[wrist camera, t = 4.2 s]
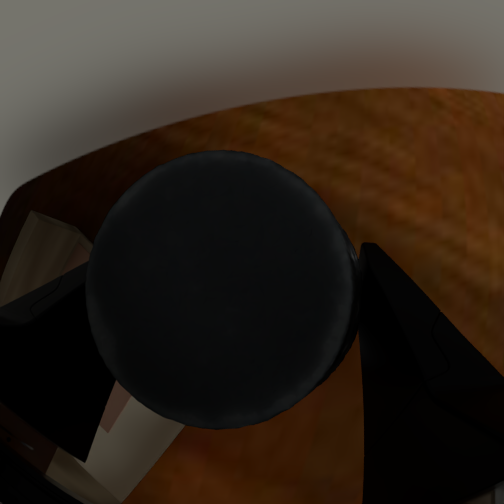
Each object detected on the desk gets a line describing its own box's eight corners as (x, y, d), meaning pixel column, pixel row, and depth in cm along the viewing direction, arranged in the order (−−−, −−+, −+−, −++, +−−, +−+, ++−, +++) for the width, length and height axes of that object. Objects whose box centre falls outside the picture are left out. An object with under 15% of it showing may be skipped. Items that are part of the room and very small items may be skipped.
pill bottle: (204, 338, 16) (38, 375, 5) (236, 227, 16) (116, 107, 6) (317, 372, 14) (324, 506, 3) (350, 256, 15) (425, 150, 4)
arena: (232, 362, 15) (203, 381, 11) (118, 506, 14) (86, 531, 10) (75, 226, 19) (31, 209, 14) (10, 382, 18) (-27, 387, 14)
